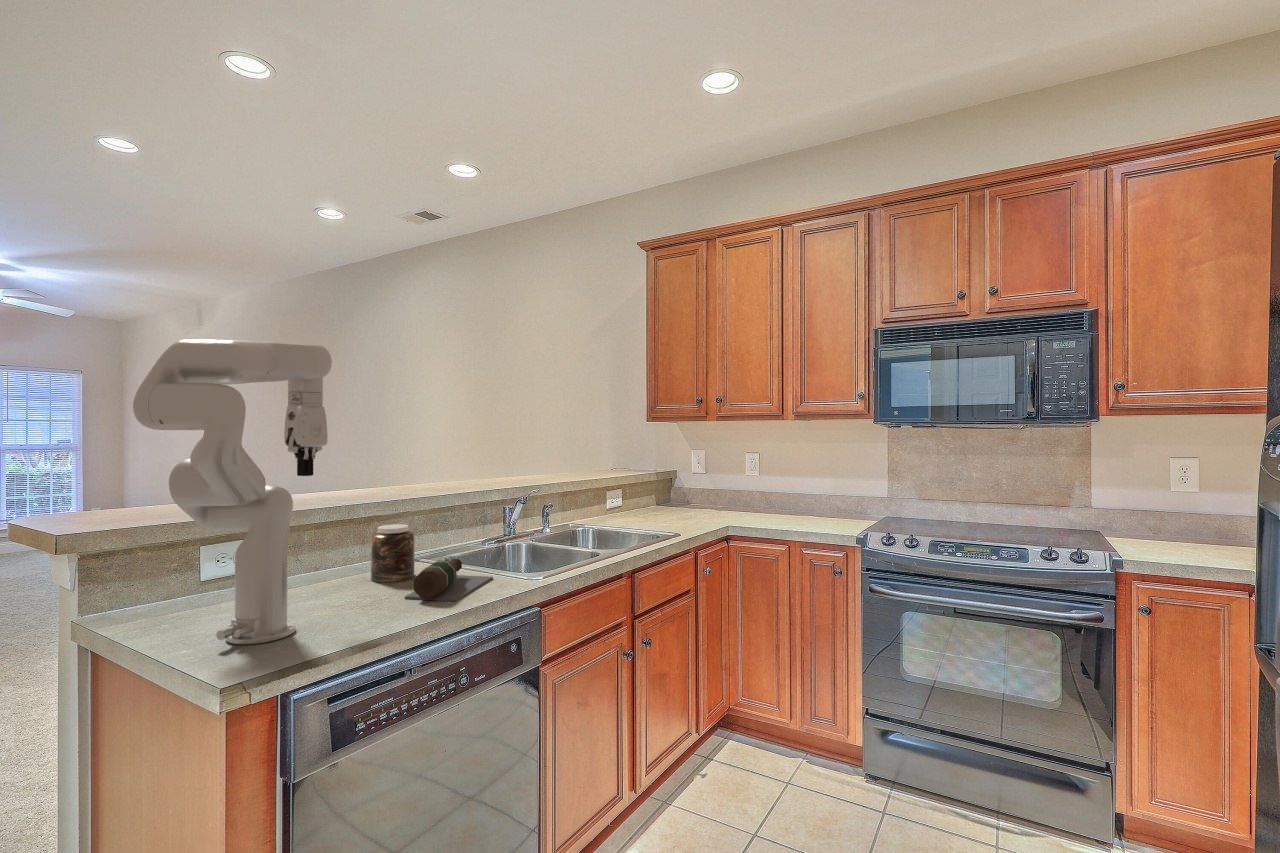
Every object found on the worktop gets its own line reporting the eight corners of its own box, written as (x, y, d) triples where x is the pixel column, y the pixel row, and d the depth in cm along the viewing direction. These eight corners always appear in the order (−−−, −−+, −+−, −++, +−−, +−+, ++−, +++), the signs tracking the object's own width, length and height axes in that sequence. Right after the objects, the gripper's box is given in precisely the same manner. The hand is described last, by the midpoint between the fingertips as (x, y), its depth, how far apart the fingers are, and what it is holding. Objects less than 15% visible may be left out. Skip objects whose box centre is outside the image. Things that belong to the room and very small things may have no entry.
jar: (376, 574, 188) (376, 523, 188) (417, 572, 190) (417, 522, 190) (366, 583, 177) (366, 530, 177) (410, 582, 179) (410, 529, 179)
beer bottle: (447, 593, 158) (474, 571, 182) (435, 565, 158) (464, 546, 182) (418, 605, 159) (449, 581, 183) (407, 576, 159) (439, 556, 183)
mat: (456, 601, 159) (456, 599, 159) (404, 598, 161) (404, 596, 161) (492, 578, 183) (492, 576, 183) (447, 576, 185) (447, 574, 185)
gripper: (298, 399, 146) (297, 478, 146) (338, 401, 160) (338, 473, 160) (269, 399, 147) (268, 477, 147) (312, 401, 161) (311, 473, 162)
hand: (305, 475), depth 154 cm, fingers closed
